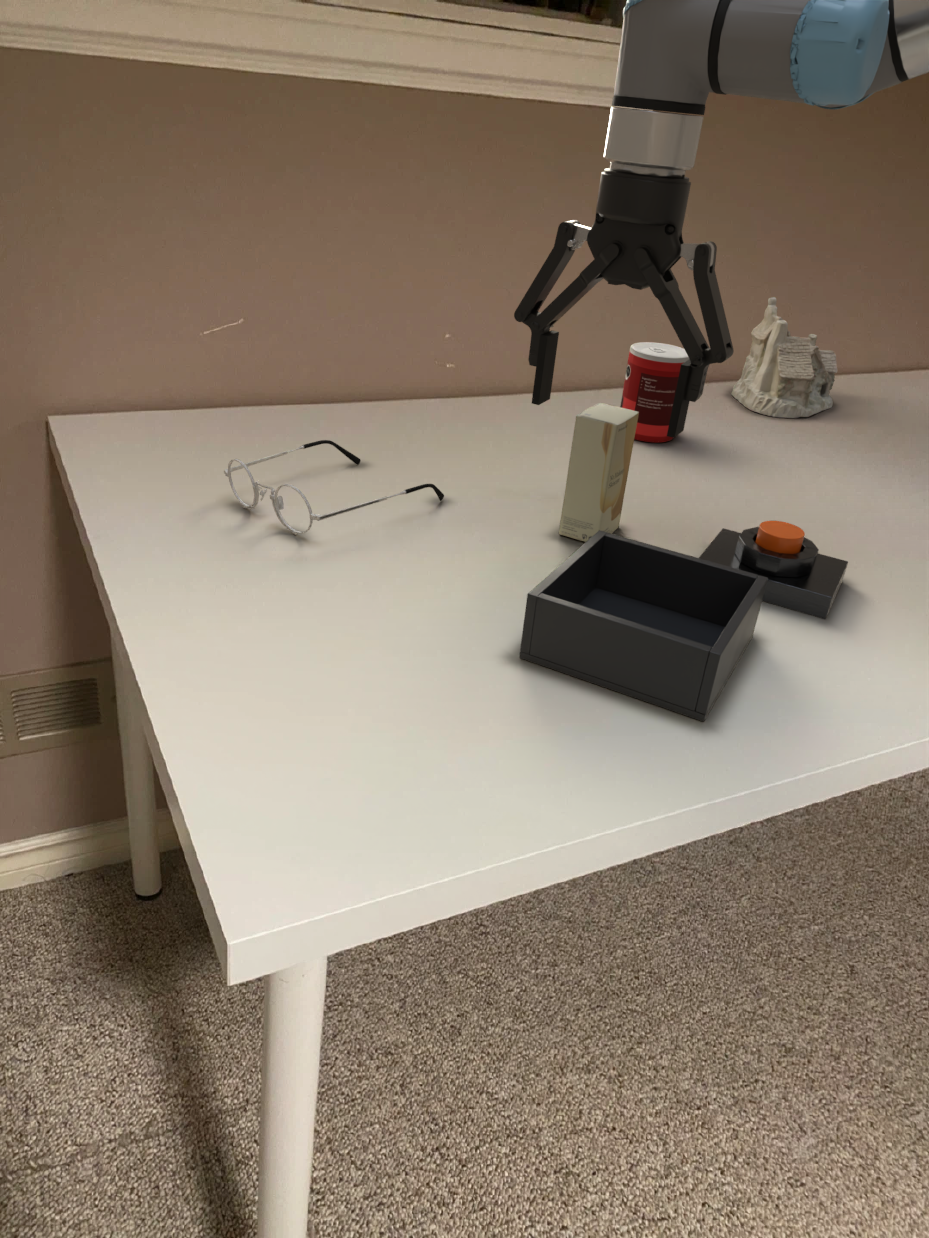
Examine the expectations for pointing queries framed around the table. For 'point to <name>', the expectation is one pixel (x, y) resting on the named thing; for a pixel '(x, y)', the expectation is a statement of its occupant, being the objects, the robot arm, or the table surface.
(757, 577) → the bin
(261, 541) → the table surface
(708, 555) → the control block
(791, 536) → the button
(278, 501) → the eyeglasses
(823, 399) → the ceramic cottage
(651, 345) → the canned food
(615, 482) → the cosmetic box
